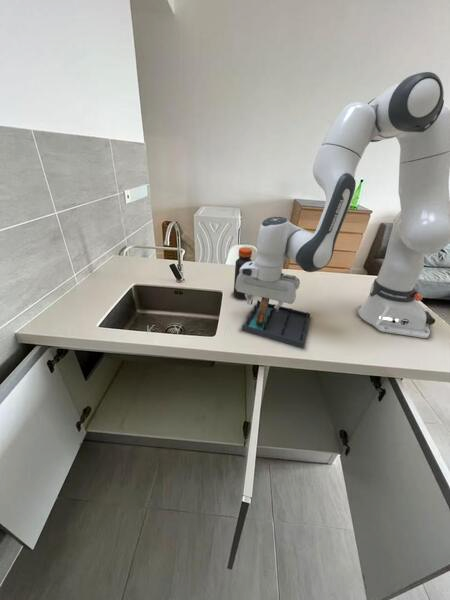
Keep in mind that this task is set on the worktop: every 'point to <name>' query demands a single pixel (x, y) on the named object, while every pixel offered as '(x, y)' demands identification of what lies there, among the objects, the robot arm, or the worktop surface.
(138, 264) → the worktop surface
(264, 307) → the brown flat piece
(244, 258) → the bottle
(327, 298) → the worktop surface
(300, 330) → the tray
